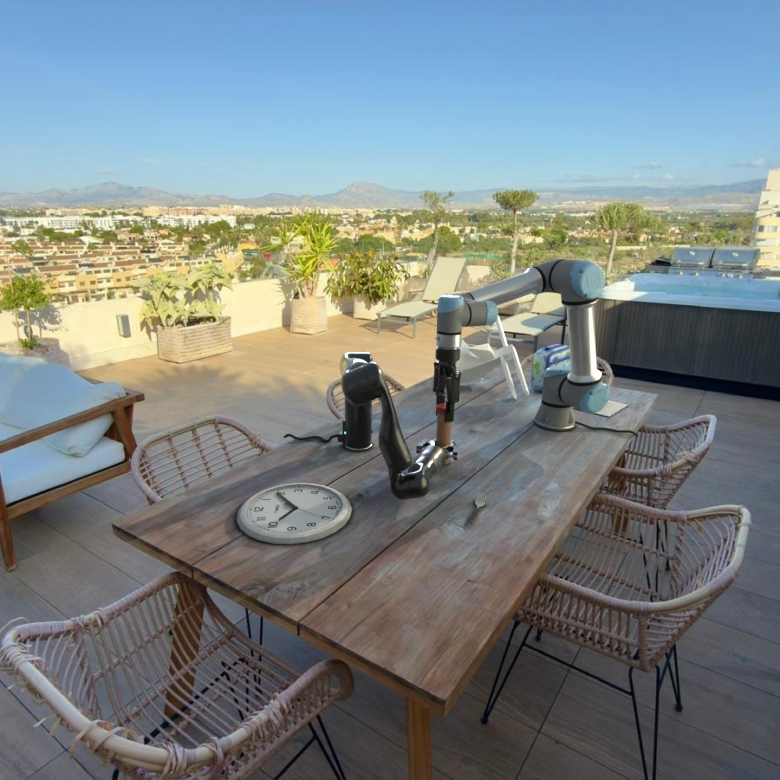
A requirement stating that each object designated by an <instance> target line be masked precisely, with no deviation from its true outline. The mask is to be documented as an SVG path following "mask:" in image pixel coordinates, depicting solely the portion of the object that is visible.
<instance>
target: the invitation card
mask: <svg viewBox="0 0 780 780" xmlns="http://www.w3.org/2000/svg"><path fill="white" fill-rule="evenodd" d="M628 406H629V404H627V403H623V402H618V401H614V400H610V399H609V400H608V402H607V404H606V405H605V406H604V408H602V409H601V410H600V411H598V412H596V413H595V414H596V415H600V416H604V417H608V418H609V417H611V416H613V415H614V414H616V413H617V412H619V411H621V410H623V409H624V408H626V407H628ZM573 409H575V410H578V409H577V408H575V407H573Z"/></svg>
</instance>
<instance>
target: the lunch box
mask: <svg viewBox="0 0 780 780" xmlns="http://www.w3.org/2000/svg"><path fill="white" fill-rule="evenodd" d="M531 364H532V365H531V376H530V377H531V378H530V387H531V389H532V390H536V391H539V392H540V391H541V392H542V391H543V380H544V374H545V370H546V369H547V368H549V367H556V366H567V367H571V361H570V347H569V345H565V344H560V343H555V344H552V345H547V346H545V347H542V348H539V349H537V350H536V351H535V353H534V355H533V358H532V363H531Z"/></svg>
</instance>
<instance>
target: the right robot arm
mask: <svg viewBox="0 0 780 780" xmlns="http://www.w3.org/2000/svg"><path fill="white" fill-rule="evenodd" d="M605 286H606V274H605V272H604V270H603V268H602V267H601V266H600V265H599V264H598V263H596V262H594V261H589V260H584V259H581V260H580V259H568V258H567V259H566V258H557V259H552V260H549V261H545V262H542V263H539V264H536V265H534V266H531V267H529V268H527V269H526V270H525V272H522V273H520V274H517V275H514V276H511V277H508V278H505V279H503V280H499V281H496V282H494V283H489V284H487V285H484V286H482V287H479V288H476V289H472V290H470V291H467V292H464V293H460V294H458V295H457V294H445V295H444V294H443V295H441V296H440V297H438V300H437V308H436V336H435V345H436V347H435V355H434V356H435V357H434V359H435V360H437V361H434V362H433V384H432V392H433V393H435V396H436V397H435V398H436V399H435V400H436V401H435V406H436V405H437V404H439V403H446V408H445V422H446V423H447V422H452V423H453V422H454V421H455V420H454V419H455V405H456V404H457V403H459V402H460V393H461V391H460V390H461V383H460V377H461V371H457V370H456V362H457V361H458V360H459V359H460V348H459V347H460V346H461V339H462V330H463V328H469V327H486V326H492V325H494V324H496V320H497V318H498V316H499V308H498V306H500V305H503V304H505V303H510V302H512V301H514V300H518V299H520V298H523V297H525V296H529V295H531V294H532V295H535V296H537V295H540V294H544V293H545V294H546V293H551V294H553V293H554V294H559V295H560V302H561V305H562V306H564V307H565V308H566V317H567V331H568V346H569V347H570V361H571V367H567V366H556V367H549V368H547V369H546V370H545V374H544V380H543V391H541V402H540V405H539V407H538V410H537V411H536V413H535V417H534V424H535V425H536V426H537V427H539V428H542V429H544V430H549V431H556V432H567V431H572V430H574V429H575V428H576V425H579V426H581V427H584V428H586V429H589V430H596V431H597V430H598V431H608V432H611V433H619V434H625V433H629V434H632V435H633V436H634V437H638V438H639V437H640V435H638V433H637V432H635V431H634V430H630V429H615V428H610V427H603V426H590V425H588V424H586V423H582V422H581V421H580V422H579V421H576V418H575V417H576V416H575V413H574V409H576V408H577V409H576V410H579V411H581V412H583V413H587V414H596V412H598V411H600V410H601V409H602V408H604V406H605V405H606V404H607V402H608V400H610V397H611V389H610V387H609V385H607V384H606V383H604V382H603V374H602V372H601V371H600V370H598V362H597V345H596V344H597V342H596V323H595V304H596V303H597V302H598V301H599V297H600V295H601V294H602V293H603V291H604V290H603V289H604V288H605ZM445 390H446V392H445ZM446 400H447V401H446ZM574 407H575V408H574ZM435 416H436V417H437V411H436V410H435Z"/></svg>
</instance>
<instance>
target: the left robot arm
mask: <svg viewBox="0 0 780 780" xmlns="http://www.w3.org/2000/svg"><path fill="white" fill-rule="evenodd" d="M339 371H340V375H341V377H340V386H341V387H340V388H341V391H342V394H343V396H344V419H343V420H342V427H341V428H342V429H341V431H339V432H338V433H337V434H333V435H331V436H329V438H328V439H325V438H324V437H322V436H320V435H309V436H305V437H304V436H303V437H299V436H296V435H294V434H292V433H286V434H284V436H283V439H285V438H289V437H290V438H292V439H294V440H296V441H308V440H313V439H316V440H319V441H322V442H323V443H330V442H331V441H332V440H333V439H335V438H337V442H338V443H342V447H343V448H345V449H346V450H349V451H353V452H364V451H367V450H370V449H371V448H372V446H373V442H372V441H373V440H372V435H373V434H374V431H373V429H372V428H373V427H372V426H373V425H372V424H373V422H372V421H373V420H372V419H373V401H376V400H378V399H379V401H380V404H381V418H380V424H379V430H378V436H377V441H378V447H379V450H380V453H381V455H382V457H383V459H384V462H385V464H386V467H387V471H388V477H389V484H390V485H389V487H390V491H391V493H392V495H393V496H394V498H395V499H397V500H400V501H404V500H405V501H406V500H412V499H419V498H423V497H425V496H427V495H428V494H429V492H430V489H431V481H432V479H433V477H434V476H436V474H437V473H438V472H439V471H440V469H441V468H442V466H444V465H443V464H444V462H445V460H446V459H448V458H449V457H450V458H451V459H453V460H454V461H458V458H459V457H458V456H459V445H457V442H456V441H455V440H454V439H451V442H450V444H449V445H444V446H442V447H441V446H440V447H439V446H436V437H435V438H433V439H432V440H430V441H429V440H427V439H426V440H423V441H421V442H420V443H418V444H416V446H415V453H416V454H418V455H417V456H416V458H415V459H413V455H412V453H411V451H410V449H409V446H408V444H407V441H406V439H405V436H404V433H403V431H402V428H401V425H400V422H399V418H398V414H397V410H396V406H395V403H394V401H393V397H392V394H391V391H390V387H389V385H388V382H387V379H386V377H385V374H384V372H383V370H382V369H381V366H380V365H379V364H378V363H377V362H375V361H374V359H373V356H372V354H371V353H370V352H367V351H366V352H364V351H362V352H361V351H359V352H355V351H354V352H344V353H343V354H342V355H341V357H340V360H339ZM407 469H408V470H407ZM406 470H407V472H404V471H406Z"/></svg>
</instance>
